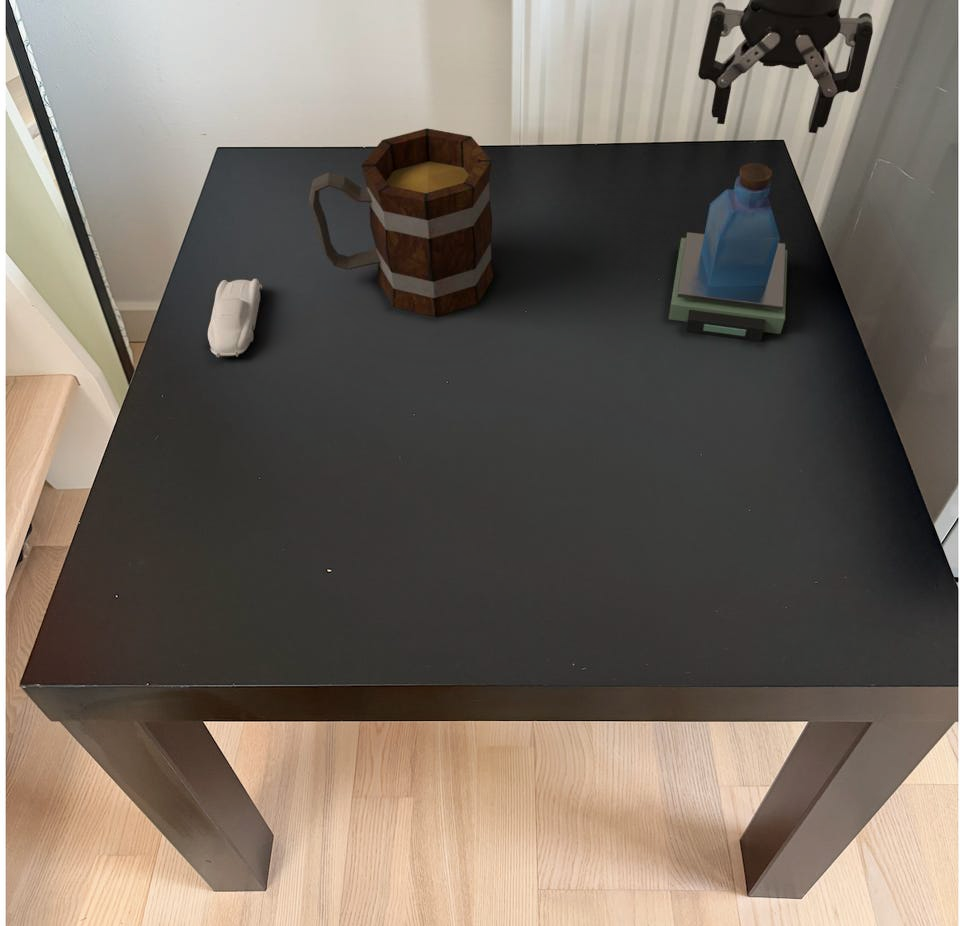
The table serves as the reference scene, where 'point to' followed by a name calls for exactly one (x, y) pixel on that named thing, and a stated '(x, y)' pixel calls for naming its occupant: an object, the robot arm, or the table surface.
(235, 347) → the toy car
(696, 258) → the pan
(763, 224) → the perfume bottle
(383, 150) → the mug
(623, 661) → the table surface
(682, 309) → the scale
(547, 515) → the table surface
